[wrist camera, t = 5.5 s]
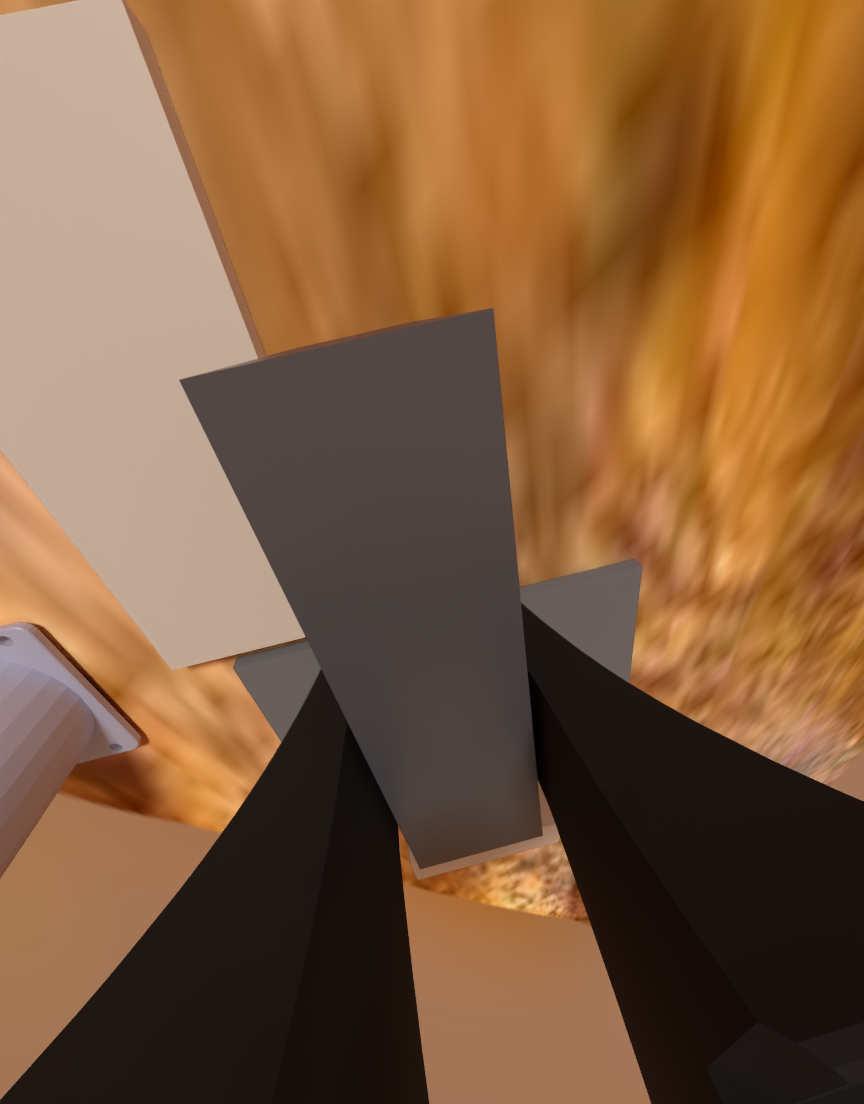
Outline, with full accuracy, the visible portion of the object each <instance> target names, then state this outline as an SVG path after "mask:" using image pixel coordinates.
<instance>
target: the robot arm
mask: <svg viewBox="0 0 864 1104" xmlns="http://www.w3.org/2000/svg"><path fill="white" fill-rule="evenodd" d="M521 609H522V619H523V630H524V641H525V651H526V662H527V672H528V683H529V694H530V704H531V715H532V725H533V736H534V747H535V757H536V768H537V778H538V781H539V784H540V786H541V788H542V791H543V793H544V796H545V798H546V800H547V803H548V805H549V808H550V810H551V813H552V816H553V819H554V821H555V824H556V827H557V830H558V833H559V835H560V838H561V841H562V844H563V847H564V849H565V852H566V855H567V858H568V860H569V863H570V866H571V869H572V872H573V875H574V878H575V880H576V883H577V886H578V889H579V892H580V895H581V897H582V900H583V903H584V906H585V909H586V912H587V914H588V917H589V920H590V923H591V926H592V929H593V932H594V935H595V938H596V940H597V943H598V946H599V949H600V952H601V955H602V958H603V961H604V964H605V967H606V970H607V973H608V976H609V978H610V981H611V984H612V987H613V990H614V993H615V996H616V999H617V1002H618V1005H619V1008H620V1011H621V1014H622V1017H623V1020H624V1023H625V1026H626V1029H627V1032H628V1035H629V1038H630V1041H631V1044H632V1047H633V1049H634V1053H635V1056H636V1059H637V1062H638V1065H639V1067H640V1071H641V1074H642V1076H643V1080H644V1083H645V1086H646V1089H647V1092H648V1095H649V1098H650V1101H651V1104H864V801H861V800H859V799H856V798H854V797H852V796H849V795H847V794H845V793H842V792H840V791H838V790H836V789H833V788H831V787H829V786H827V785H825V784H823V783H820V782H818V781H816V780H814V779H812V778H809V777H807V776H805V775H803V774H801V773H798V772H796V771H794V770H792V769H790V768H787V767H785V766H783V765H781V764H779V763H776V762H774V761H772V760H770V759H768V758H766V757H764V756H762V755H760V754H758V753H756V752H754V751H752V750H750V749H748V748H746V747H744V746H743V745H741V744H739V743H737V742H735V741H733V740H731V739H729V738H727V737H725V736H723V735H721V734H719V733H717V732H715V731H713V730H711V729H709V728H707V727H705V726H703V725H701V724H699V723H697V722H695V721H693V720H692V719H690V718H688V717H686V716H684V715H683V714H681V713H679V712H677V711H676V710H674V709H672V708H670V707H669V706H667V705H665V704H663V703H661V702H660V701H658V700H656V699H655V698H653V697H651V696H650V695H648V694H646V693H645V692H643V691H641V690H640V689H638V688H636V687H635V686H633V685H632V684H630V683H628V682H627V681H625V680H624V679H622V678H621V677H619V676H617V675H616V674H614V673H613V672H611V671H610V670H608V669H607V668H605V667H604V666H603V665H601V664H600V663H598V662H597V661H595V660H594V659H592V658H591V657H590V656H588V655H587V654H585V653H584V652H583V651H581V650H580V649H578V648H577V647H576V646H574V645H573V644H572V643H570V642H569V641H568V640H566V639H565V638H564V637H563V636H561V635H560V634H559V633H557V632H556V631H555V630H554V629H552V628H551V627H550V626H548V625H547V624H546V623H545V622H544V621H542V620H541V619H540V618H539V617H538V616H536V615H535V614H534V613H533V612H532V611H531V610H529V609H528V608H527V607H526V606H525V605H524V604H523V603H521ZM8 637H9V638H8ZM141 740H142V737H141V736H140V734H139V733H138V732H137V731H136V730H135V729H134V728H133V727H132V726H131V725H130V724H129V723H128V722H127V721H126V720H125V719H124V718H123V717H122V716H121V715H120V714H119V713H118V712H117V711H116V709H115V708H114V707H113V706H112V705H111V704H110V703H109V702H108V701H107V700H106V699H105V698H104V697H103V696H102V695H101V694H100V693H99V692H98V691H97V690H96V689H95V688H94V687H93V686H92V685H91V683H90V682H89V681H88V680H87V679H86V678H85V677H84V676H83V675H82V674H81V673H80V672H79V671H78V670H77V669H76V668H75V667H74V666H73V665H72V664H71V663H70V662H69V661H68V660H67V659H66V657H65V656H64V655H63V654H62V653H61V652H60V651H59V650H58V649H57V648H56V647H55V646H54V645H53V644H52V643H51V642H50V641H49V640H48V639H47V638H46V637H45V636H44V635H43V634H42V633H41V631H40V630H39V629H38V628H36V627H35V626H34V625H31V624H29V623H24V622H17V623H12V624H8V625H4V626H0V878H1V877H2V875H3V874H4V872H5V871H6V869H7V868H8V866H9V865H10V863H11V862H12V860H13V859H14V857H15V855H16V854H17V852H18V851H19V849H20V848H21V847H22V845H23V844H24V842H25V841H26V839H27V838H28V836H29V835H30V833H31V832H32V830H33V829H34V827H35V826H36V824H37V823H38V821H39V820H40V818H41V817H42V815H43V814H44V812H45V810H46V809H47V807H48V806H49V804H50V803H51V801H52V800H53V798H54V797H55V795H56V794H57V792H58V791H59V789H60V788H61V786H62V785H63V783H64V782H65V780H66V779H67V777H68V776H69V774H70V773H71V771H72V770H73V768H74V767H75V765H76V764H79V763H83V762H87V761H91V760H95V759H99V758H102V757H106V756H110V755H114V754H118V753H122V752H126V751H130V750H133V749H136V748H137V747H138V746H139V744H140V742H141ZM0 1104H429V1099H428V1091H427V1084H426V1076H425V1069H424V1061H423V1054H422V1045H421V1038H420V1030H419V1021H418V1013H417V1005H416V997H415V989H414V980H413V972H412V964H411V954H410V946H409V937H408V929H407V919H406V910H405V900H404V891H403V881H402V871H401V861H400V852H399V835H398V824H397V821H396V819H395V817H394V815H393V813H392V811H391V809H390V807H389V805H388V803H387V801H386V799H385V797H384V795H383V793H382V791H381V789H380V787H379V785H378V783H377V781H376V779H375V777H374V775H373V773H372V771H371V769H370V767H369V765H368V763H367V761H366V759H365V757H364V755H363V753H362V750H361V748H360V746H359V744H358V742H357V740H356V738H355V736H354V734H353V732H352V730H351V728H350V726H349V724H348V722H347V720H346V718H345V716H344V714H343V712H342V710H341V708H340V706H339V704H338V702H337V700H336V698H335V696H334V694H333V692H332V690H331V688H330V686H329V684H328V681H327V679H326V677H325V675H324V673H323V671H322V669H320V672H319V674H318V676H317V678H316V680H315V682H314V684H313V686H312V687H311V689H310V691H309V693H308V695H307V697H306V699H305V701H304V703H303V705H302V707H301V709H300V711H299V713H298V714H297V716H296V718H295V720H294V721H293V723H292V725H291V727H290V728H289V730H288V732H287V734H286V735H285V737H284V739H283V741H282V742H281V744H280V746H279V748H278V749H277V751H276V753H275V754H274V756H273V758H272V759H271V761H270V762H269V764H268V766H267V767H266V769H265V770H264V772H263V774H262V775H261V777H260V778H259V780H258V781H257V783H256V784H255V786H254V787H253V789H252V790H251V792H250V793H249V795H248V796H247V798H246V799H245V801H244V802H243V804H242V805H241V807H240V808H239V810H238V811H237V813H236V814H235V816H234V817H233V818H232V820H231V821H230V822H229V824H228V825H227V827H226V828H225V829H224V831H223V832H222V834H221V835H220V837H219V838H218V839H217V841H216V842H215V843H214V845H213V846H212V847H211V849H210V850H209V852H208V853H207V855H206V856H205V857H204V859H203V860H202V861H201V862H200V864H199V865H198V867H197V868H196V869H195V871H194V872H193V873H192V874H191V876H190V877H189V878H188V880H187V881H186V882H185V884H184V885H183V886H182V888H181V889H180V890H179V891H178V893H177V894H176V895H175V896H174V898H173V899H172V900H171V901H170V903H169V904H168V905H167V906H166V907H165V909H164V910H163V911H162V912H161V914H160V915H159V916H158V917H157V919H156V920H155V921H154V922H153V924H152V925H151V926H150V927H149V928H148V930H147V931H146V932H145V934H144V935H143V936H142V937H141V939H140V940H139V941H138V942H137V943H136V945H135V946H134V947H133V948H132V950H131V951H130V952H129V953H128V954H127V956H126V957H125V958H124V959H123V961H122V962H121V963H120V964H119V965H118V966H117V968H116V969H115V970H114V972H113V973H112V974H111V975H110V976H109V977H108V979H107V980H106V981H105V982H104V983H103V984H102V986H101V987H100V988H99V989H98V990H97V992H96V993H95V994H94V995H93V996H92V997H91V998H90V1000H89V1001H88V1002H87V1003H86V1004H85V1005H84V1007H83V1008H82V1009H81V1010H80V1011H79V1012H78V1014H77V1015H76V1016H75V1017H74V1018H73V1019H72V1020H71V1022H69V1024H68V1025H67V1026H66V1027H65V1028H64V1029H63V1030H62V1032H61V1033H60V1034H59V1035H58V1036H57V1037H56V1038H55V1039H54V1040H53V1042H52V1043H51V1044H50V1045H49V1046H48V1047H47V1048H46V1050H45V1051H44V1052H43V1053H42V1054H41V1055H40V1056H39V1057H38V1058H37V1059H36V1061H35V1062H34V1063H33V1064H32V1065H31V1067H29V1068H28V1070H27V1071H26V1072H25V1073H24V1074H23V1075H22V1076H21V1077H20V1079H19V1080H18V1081H17V1082H16V1083H15V1084H14V1085H13V1086H12V1088H11V1089H10V1090H9V1091H8V1092H7V1093H6V1094H5V1095H4V1097H3V1098H2V1099H1V1100H0Z"/></svg>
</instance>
